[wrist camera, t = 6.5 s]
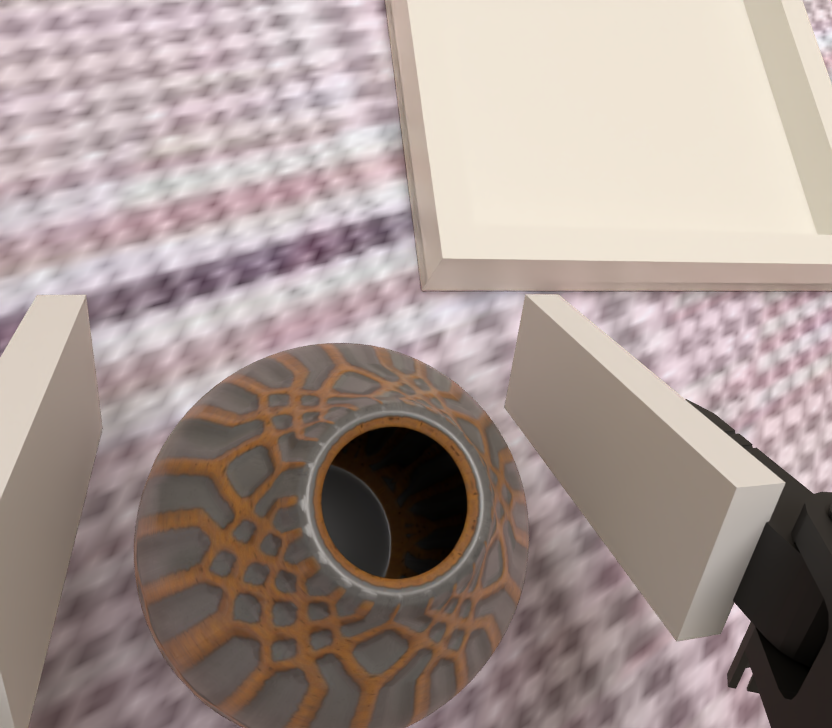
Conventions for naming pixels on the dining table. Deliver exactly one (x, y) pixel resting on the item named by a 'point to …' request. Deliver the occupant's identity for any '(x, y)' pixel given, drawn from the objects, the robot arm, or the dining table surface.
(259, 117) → the dining table surface
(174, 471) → the vase
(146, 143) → the dining table surface
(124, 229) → the dining table surface
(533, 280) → the holder tray
